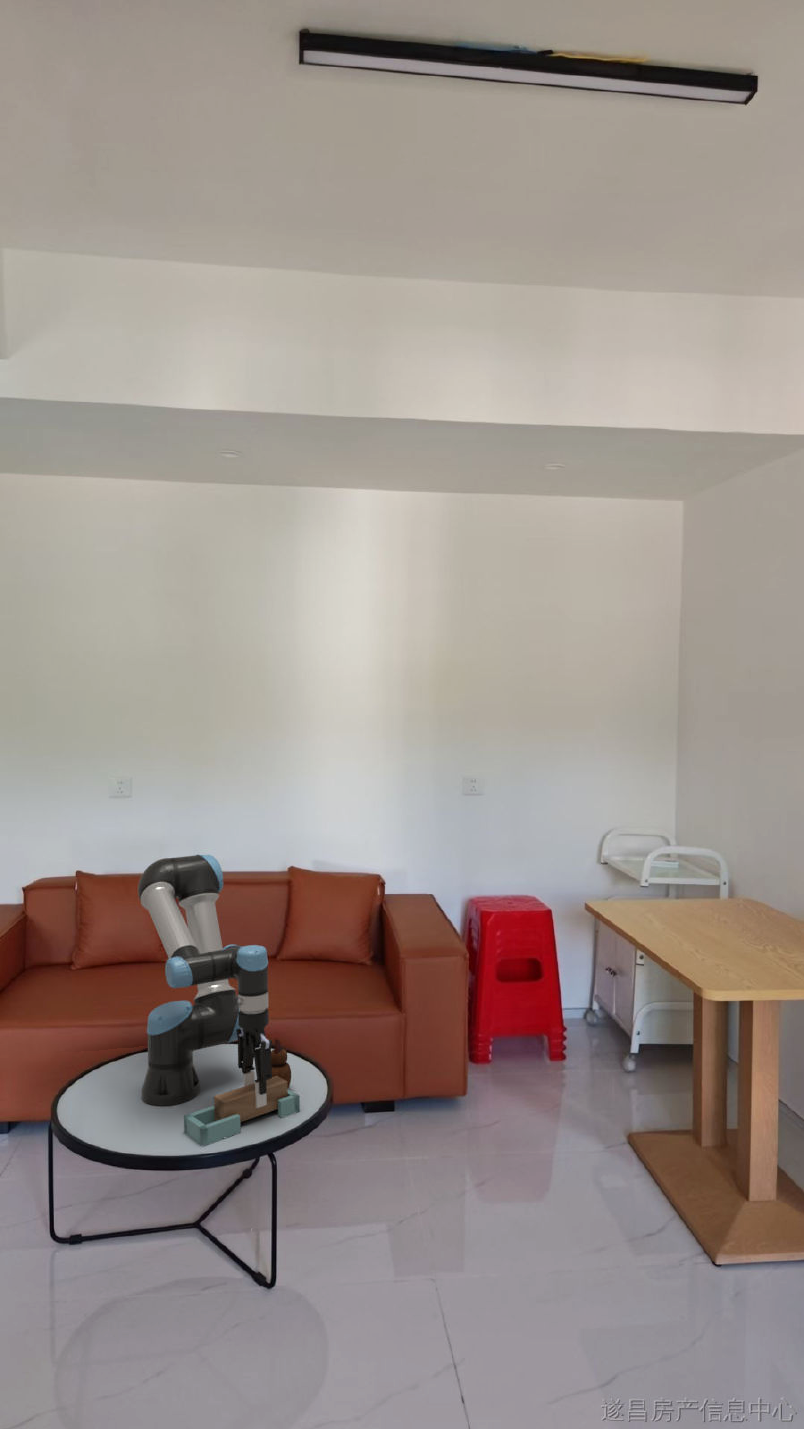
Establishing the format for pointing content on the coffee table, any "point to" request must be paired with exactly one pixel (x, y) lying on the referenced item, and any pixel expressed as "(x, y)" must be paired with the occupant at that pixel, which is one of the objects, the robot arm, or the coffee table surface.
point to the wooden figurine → (280, 1063)
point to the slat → (249, 1100)
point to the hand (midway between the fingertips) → (255, 1102)
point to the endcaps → (228, 1121)
